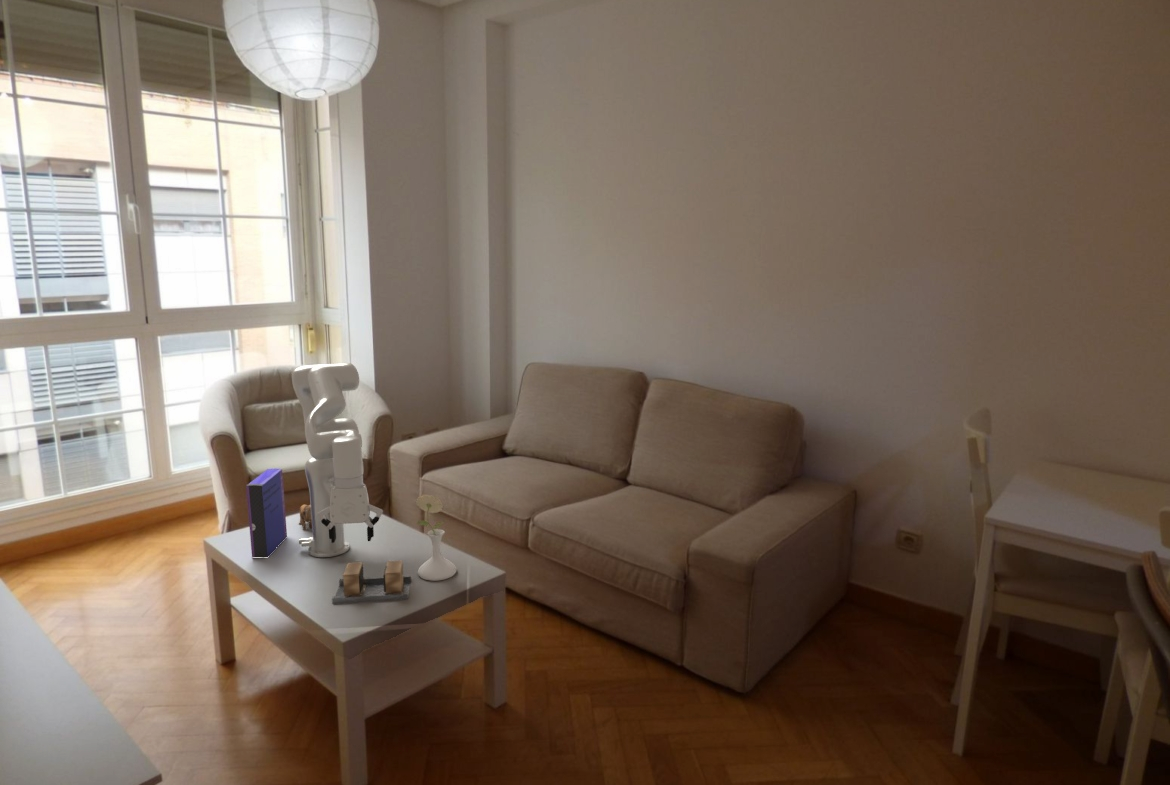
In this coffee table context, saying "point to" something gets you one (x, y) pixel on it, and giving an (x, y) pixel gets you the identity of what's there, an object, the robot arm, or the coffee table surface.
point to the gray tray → (372, 591)
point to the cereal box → (266, 512)
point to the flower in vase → (434, 544)
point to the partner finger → (393, 577)
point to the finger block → (353, 579)
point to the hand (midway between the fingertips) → (351, 540)
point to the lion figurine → (305, 516)
